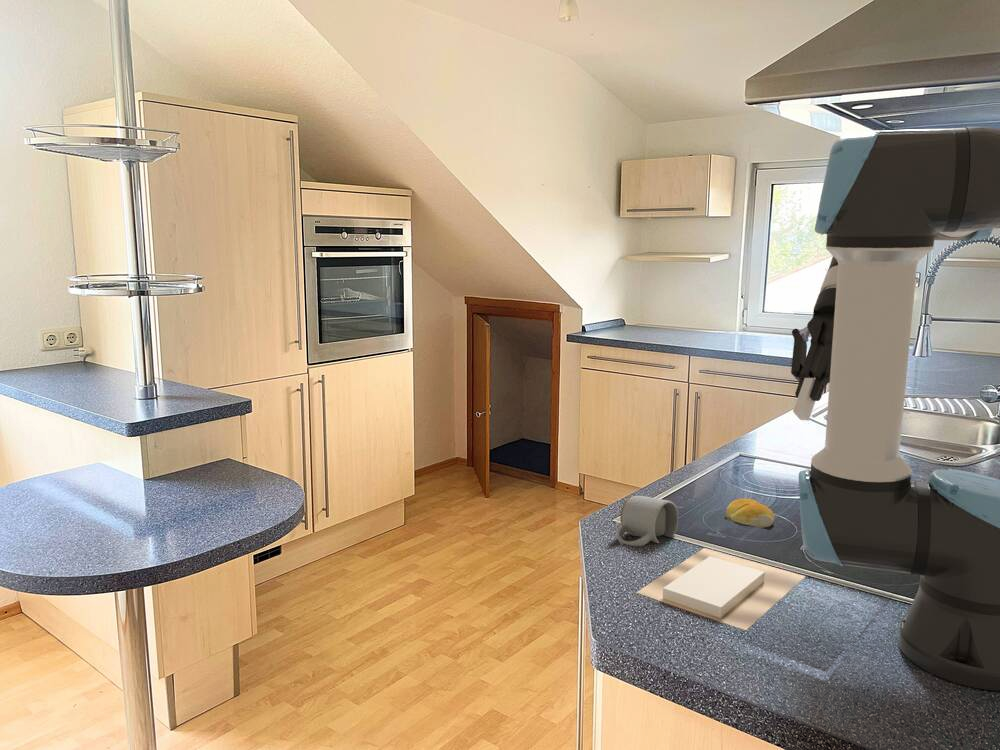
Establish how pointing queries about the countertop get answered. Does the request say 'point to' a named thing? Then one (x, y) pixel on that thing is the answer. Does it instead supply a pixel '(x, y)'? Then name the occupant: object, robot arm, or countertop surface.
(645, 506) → the ceramic mug
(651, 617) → the countertop surface
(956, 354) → the countertop surface
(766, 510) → the bread roll
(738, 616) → the cork mat
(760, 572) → the ceramic tile
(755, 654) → the countertop surface
